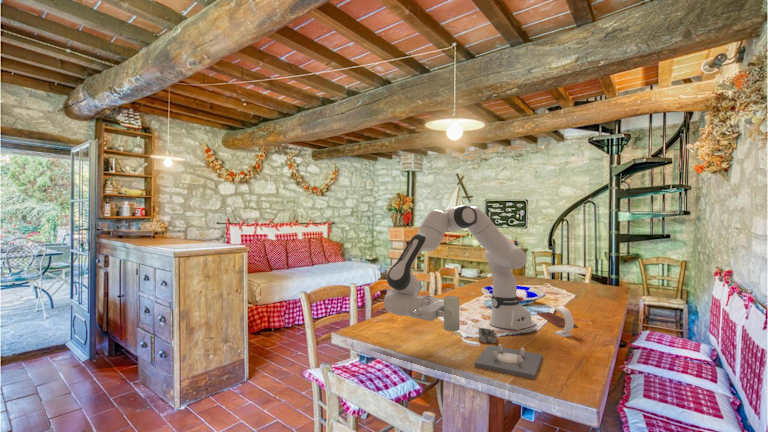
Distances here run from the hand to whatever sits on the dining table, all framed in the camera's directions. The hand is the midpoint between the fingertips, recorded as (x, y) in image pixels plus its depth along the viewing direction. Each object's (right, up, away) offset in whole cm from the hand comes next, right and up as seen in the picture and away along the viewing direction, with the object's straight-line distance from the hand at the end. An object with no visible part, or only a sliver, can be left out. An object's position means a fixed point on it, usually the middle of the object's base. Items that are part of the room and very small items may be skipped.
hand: (453, 311), depth 140 cm
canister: (-1, -7, +1) cm, 7 cm away
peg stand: (+19, -17, -7) cm, 26 cm away
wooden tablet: (+61, -17, +46) cm, 78 cm away
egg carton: (+18, -17, +18) cm, 30 cm away
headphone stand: (+54, -16, +23) cm, 61 cm away
